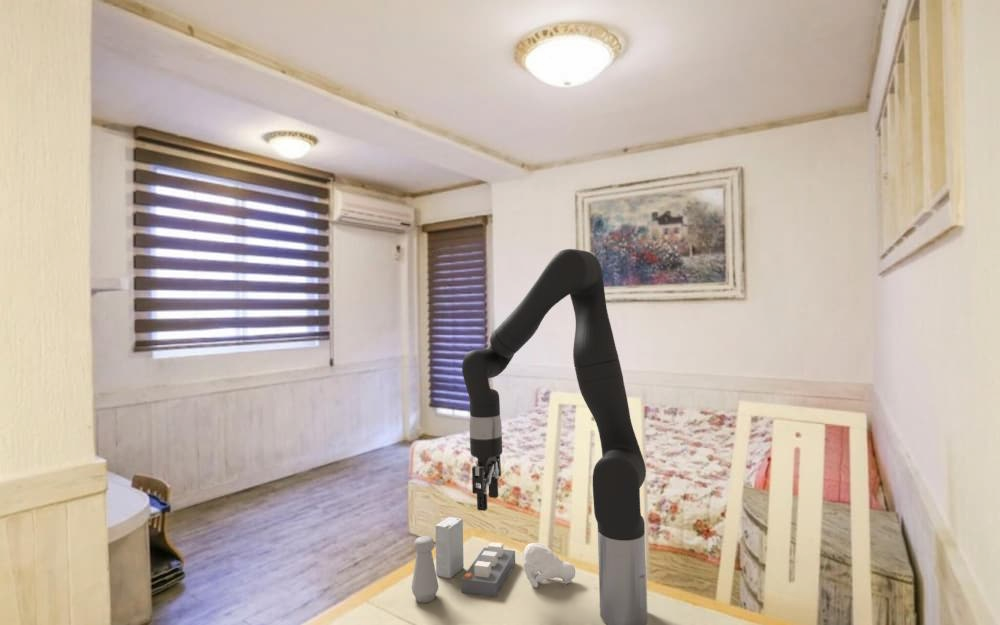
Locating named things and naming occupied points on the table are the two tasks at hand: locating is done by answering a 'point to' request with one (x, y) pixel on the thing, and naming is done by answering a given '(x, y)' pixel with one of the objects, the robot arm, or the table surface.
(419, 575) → the salt shaker
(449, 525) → the skincare box
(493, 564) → the block
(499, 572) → the panel
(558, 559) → the whiskered white figurine
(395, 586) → the table surface
